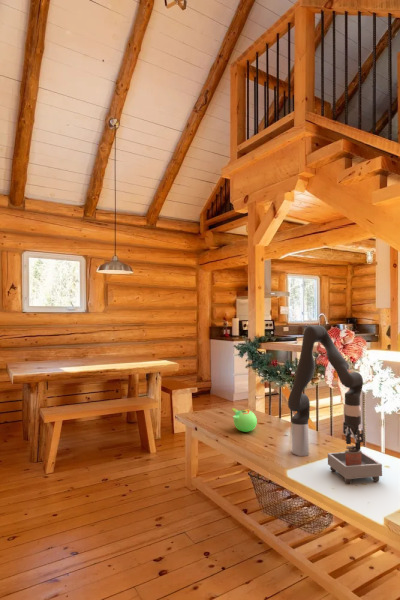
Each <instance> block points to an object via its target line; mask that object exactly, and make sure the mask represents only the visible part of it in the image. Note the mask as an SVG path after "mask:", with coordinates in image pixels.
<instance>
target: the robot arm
mask: <svg viewBox="0 0 400 600" xmlns="http://www.w3.org/2000/svg"><path fill="white" fill-rule="evenodd" d="M315 343H320V344H321V345H322V346H323V348H324V349H325V352H326V357H327V359H328V362H329V365H331V366H332V368H333V369H334V370H335V371H336V375H337V377H338V379H339V381H340V383H341V385H343V386H344V387H345V388H349V389H348V390H347V392H345V394H344V413H343V414H344V421H343V422H342V423H343V426H342V428H343V429H342V430H343V431H342V433H343V434H344V436H345V444H347V445H351V444H352V438H353V439H354V441H355V443H354V446H355V449H356V450H361V444H362V443H364V430H363V428H361V429H360V428H359V426H360V425H361V424H362V409H361V394H362V391H363V386H364V380H363V379H364V378H363V376H362V375H361V374H360V373H359V372H356V371H353V372H349V371H348V370H349V368H350V365H349V363H348V361H347V360H346V359H345V358H344V357H343V355H342V354H341V353H340V351H339V350H338V349H337V346H336V344H335V343H334V342H333V340H332V338H331V336H330V335H329V332H328V331H327V329H326V328H325V327H324V326H323V325H320V324H313V325H311V324H310V325H307V326H306V327H305V328H304V330H303V336H302V344H301V351H300V356H299V360H298V363H297V368H296V373H295V377H294V380H293V384H292V388H291V391H290V393H289V396H288V401H287V405H288V408H289V410H290V411H291V412H295V414H294V415H292V416H291V452H292V454H293V455H295V456H301V457H306V456H308V455H309V454H310V447H309V446H310V443H309V442H310V441H309V440H310V439H309V419H310V410H311V408H310V407H311V406H310V404H311V403H310V402H311V401H310V398H309V396H308V395H307V394H305V393H303V392H304V390H305V388H306V387H307V386H308V384H309V383H310V382H311V380H313V379H312V378H313V377H314V374H315V370H316V361H315V358H314V355H313V353H314V352H313V351H314V345H315ZM351 436H352V437H351Z"/></svg>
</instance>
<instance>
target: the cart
mask: <svg viewBox="0 0 400 600" xmlns="http://www.w3.org/2000/svg"><path fill="white" fill-rule="evenodd" d="M361 464H362V465H353V466H346V453H345V451H341V452H327V465H329V469H330V471H331V472H334V473H335V472H337V473H338V474H339V475H341V476H342V477H343V478H344V482H345V483H346V484H347V485H351V484H352V483H353V479H365V478H371V479H372V480H373V481H374V482H375V483H376V482H379V481H380V477H382V476H383V468H382V467H383V463H381V462H379V461H378V460H376V459H374V458H373V457H372V456H369V455H368V454H366V453H365V452H363V451H362V453H361Z"/></svg>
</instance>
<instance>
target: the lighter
mask: <svg viewBox="0 0 400 600" xmlns="http://www.w3.org/2000/svg"><path fill="white" fill-rule="evenodd" d="M344 452H345V453H346V466H353V465H362V464H361V453H362V452H363V451H362V450H361V449H360V450H356V449H355V444H353V445H351V446H350V445H349V446H348V445H347V446H346V450H344Z"/></svg>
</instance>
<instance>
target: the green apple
mask: <svg viewBox="0 0 400 600" xmlns="http://www.w3.org/2000/svg"><path fill="white" fill-rule="evenodd" d="M231 409H232V411H233V413H234V415H233V416H232V419H233V424H234V426H235V428H236V429H237V430H238V431H240V432H242V433H248V432H252V431H254V429H255V428H256V427H257V423H258V419H257V416H256V414H255V413H254V412H253V411H252V410H250V409H249V408H248V409H240V410H238V409H237V408H235V407H231Z"/></svg>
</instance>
